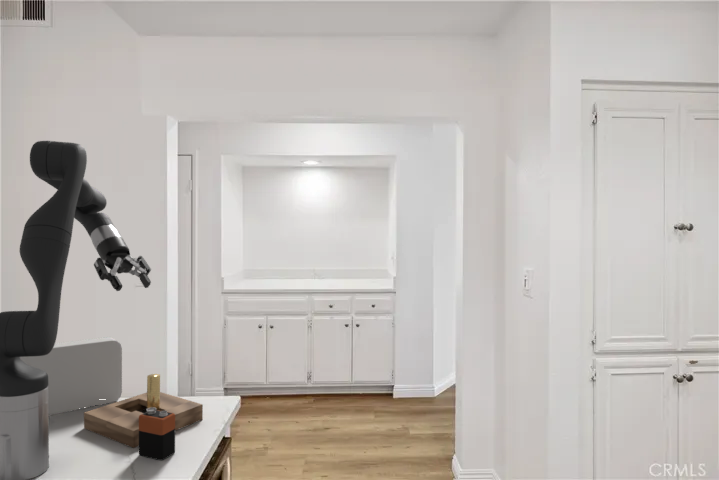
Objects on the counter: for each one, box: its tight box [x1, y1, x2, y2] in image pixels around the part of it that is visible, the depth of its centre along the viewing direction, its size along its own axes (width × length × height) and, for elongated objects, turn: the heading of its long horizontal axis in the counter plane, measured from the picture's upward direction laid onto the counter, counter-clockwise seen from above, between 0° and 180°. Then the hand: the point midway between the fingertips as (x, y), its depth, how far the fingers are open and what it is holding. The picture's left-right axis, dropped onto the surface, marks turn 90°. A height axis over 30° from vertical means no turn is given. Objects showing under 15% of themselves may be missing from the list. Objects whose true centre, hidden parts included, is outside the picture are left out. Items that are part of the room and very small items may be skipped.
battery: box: [138, 407, 176, 461], centre depth 111 cm, size 4×7×10 cm, turn 69°
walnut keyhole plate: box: [83, 391, 204, 449], centre depth 127 cm, size 20×20×4 cm
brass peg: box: [146, 373, 161, 411], centre depth 125 cm, size 5×5×13 cm
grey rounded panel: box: [20, 336, 123, 416], centre depth 137 cm, size 29×8×18 cm, turn 129°
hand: (134, 287), depth 136 cm, fingers open, 8 cm apart
